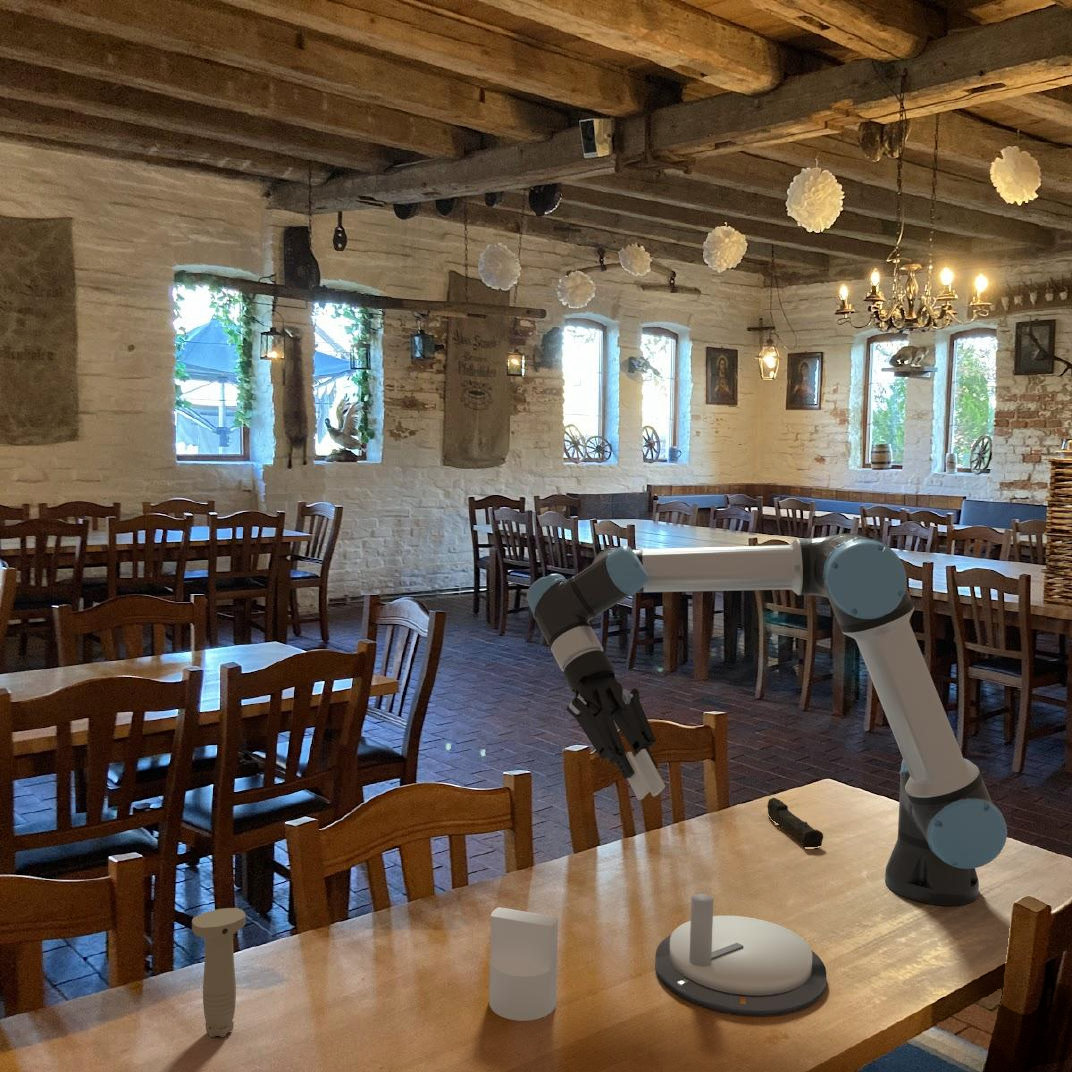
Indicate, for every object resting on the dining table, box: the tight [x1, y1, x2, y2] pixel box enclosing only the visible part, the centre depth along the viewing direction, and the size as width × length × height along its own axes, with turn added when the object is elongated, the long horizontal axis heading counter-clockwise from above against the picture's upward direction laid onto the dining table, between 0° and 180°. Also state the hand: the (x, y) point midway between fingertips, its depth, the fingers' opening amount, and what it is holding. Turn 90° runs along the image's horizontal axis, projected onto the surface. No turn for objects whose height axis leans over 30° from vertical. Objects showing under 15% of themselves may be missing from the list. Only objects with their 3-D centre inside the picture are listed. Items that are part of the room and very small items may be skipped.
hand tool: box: [766, 797, 824, 848], centre depth 209 cm, size 19×4×5 cm, turn 11°
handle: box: [191, 907, 247, 1038], centre depth 134 cm, size 5×6×15 cm
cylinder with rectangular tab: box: [489, 906, 559, 1022], centre depth 142 cm, size 9×9×12 cm
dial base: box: [654, 933, 827, 1017], centre depth 152 cm, size 24×24×2 cm
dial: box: [670, 893, 813, 996], centre depth 152 cm, size 20×20×11 cm
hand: (651, 793), depth 156 cm, fingers open, 2 cm apart
